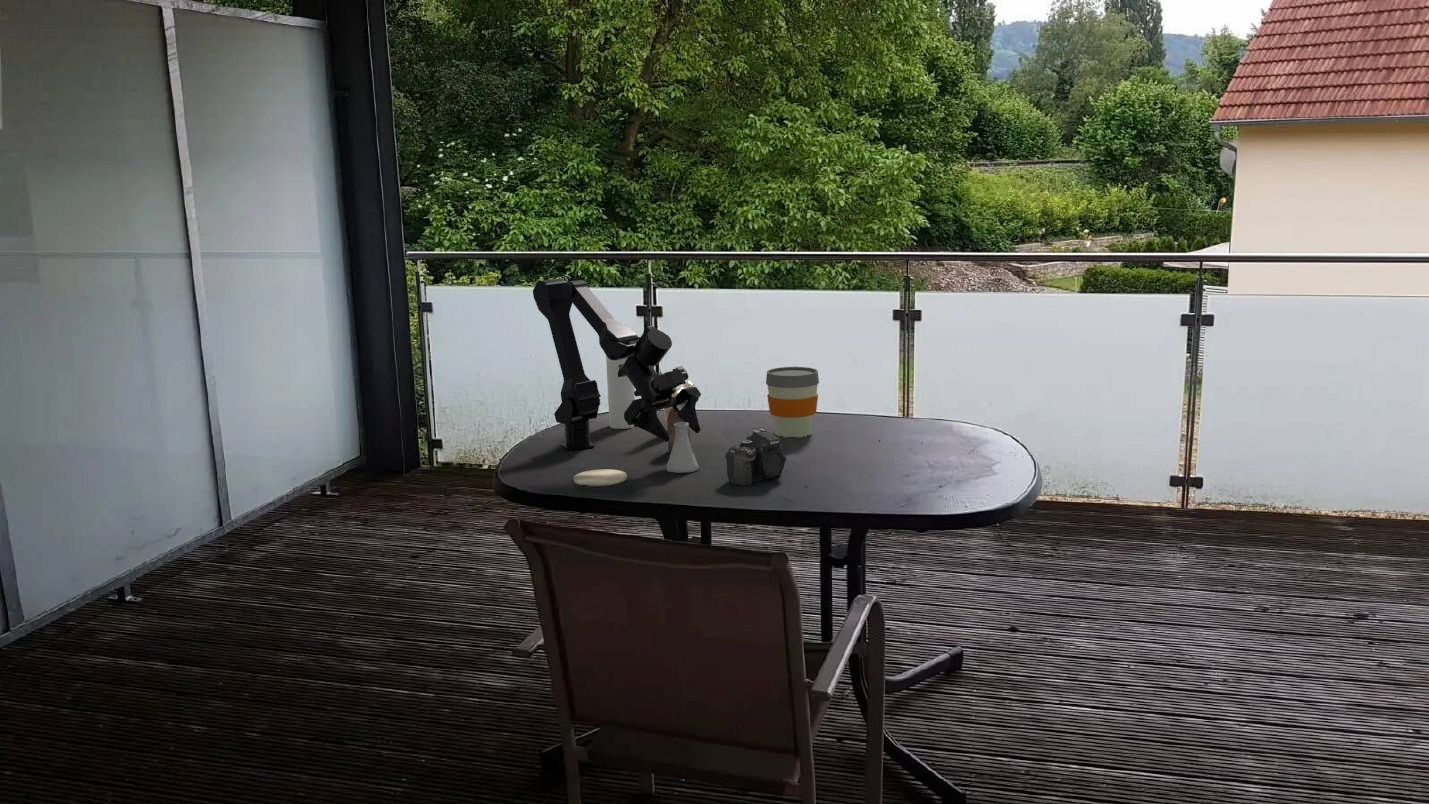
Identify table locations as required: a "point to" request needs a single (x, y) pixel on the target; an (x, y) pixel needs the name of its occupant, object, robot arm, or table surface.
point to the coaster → (600, 477)
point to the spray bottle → (618, 394)
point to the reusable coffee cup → (792, 400)
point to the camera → (755, 458)
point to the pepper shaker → (671, 421)
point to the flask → (682, 451)
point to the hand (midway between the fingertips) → (683, 436)
